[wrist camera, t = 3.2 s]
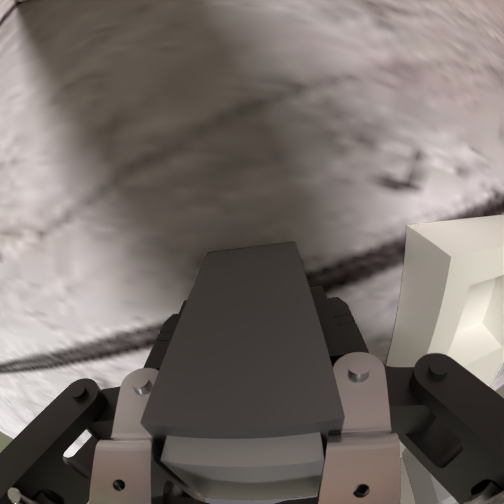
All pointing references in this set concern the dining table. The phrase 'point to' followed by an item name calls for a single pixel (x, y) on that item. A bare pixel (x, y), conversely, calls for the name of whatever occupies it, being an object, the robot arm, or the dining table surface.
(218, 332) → the plug
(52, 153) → the dining table surface
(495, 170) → the dining table surface
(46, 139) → the dining table surface
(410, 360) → the power strip
